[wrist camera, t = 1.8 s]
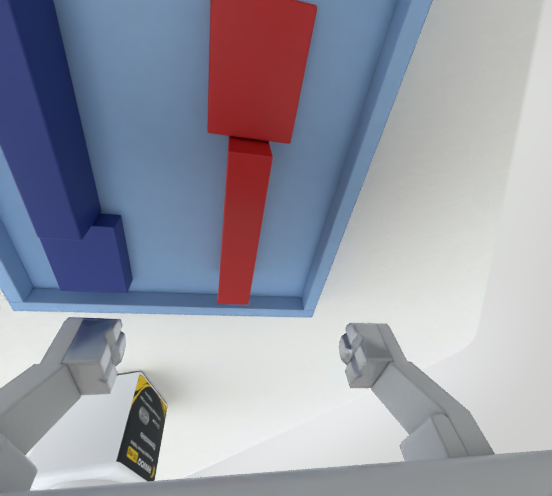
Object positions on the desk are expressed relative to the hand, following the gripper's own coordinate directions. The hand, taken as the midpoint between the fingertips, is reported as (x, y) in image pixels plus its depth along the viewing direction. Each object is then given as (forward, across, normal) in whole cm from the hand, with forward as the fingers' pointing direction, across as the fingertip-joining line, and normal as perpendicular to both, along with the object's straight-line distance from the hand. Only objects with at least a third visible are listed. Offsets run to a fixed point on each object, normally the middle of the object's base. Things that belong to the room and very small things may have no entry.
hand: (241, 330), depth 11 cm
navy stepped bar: (+7, +8, -3) cm, 11 cm away
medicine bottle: (+8, +10, +21) cm, 25 cm away
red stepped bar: (+7, 0, -2) cm, 8 cm away
